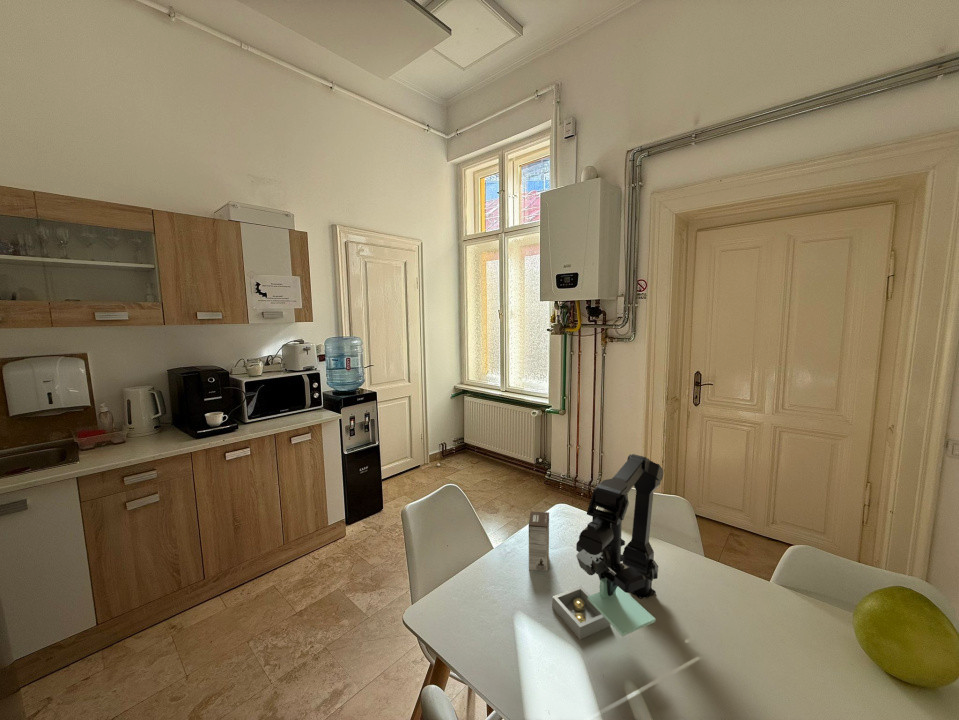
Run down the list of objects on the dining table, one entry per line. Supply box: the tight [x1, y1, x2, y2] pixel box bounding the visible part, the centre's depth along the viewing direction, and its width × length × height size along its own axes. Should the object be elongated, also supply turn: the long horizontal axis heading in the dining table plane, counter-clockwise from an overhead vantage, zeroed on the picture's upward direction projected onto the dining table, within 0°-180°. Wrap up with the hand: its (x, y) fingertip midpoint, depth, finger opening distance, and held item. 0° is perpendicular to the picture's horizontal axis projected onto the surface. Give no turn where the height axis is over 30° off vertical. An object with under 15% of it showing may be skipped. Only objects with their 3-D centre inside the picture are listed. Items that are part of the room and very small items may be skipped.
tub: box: [551, 585, 611, 640], centre depth 107 cm, size 10×12×4 cm
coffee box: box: [528, 511, 550, 572], centre depth 130 cm, size 9×6×16 cm
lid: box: [588, 577, 657, 637], centre depth 95 cm, size 10×12×5 cm
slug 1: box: [573, 598, 584, 613], centre depth 110 cm, size 3×3×2 cm
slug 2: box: [574, 613, 586, 623], centre depth 104 cm, size 3×3×2 cm
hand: (607, 593), depth 99 cm, fingers closed on lid
